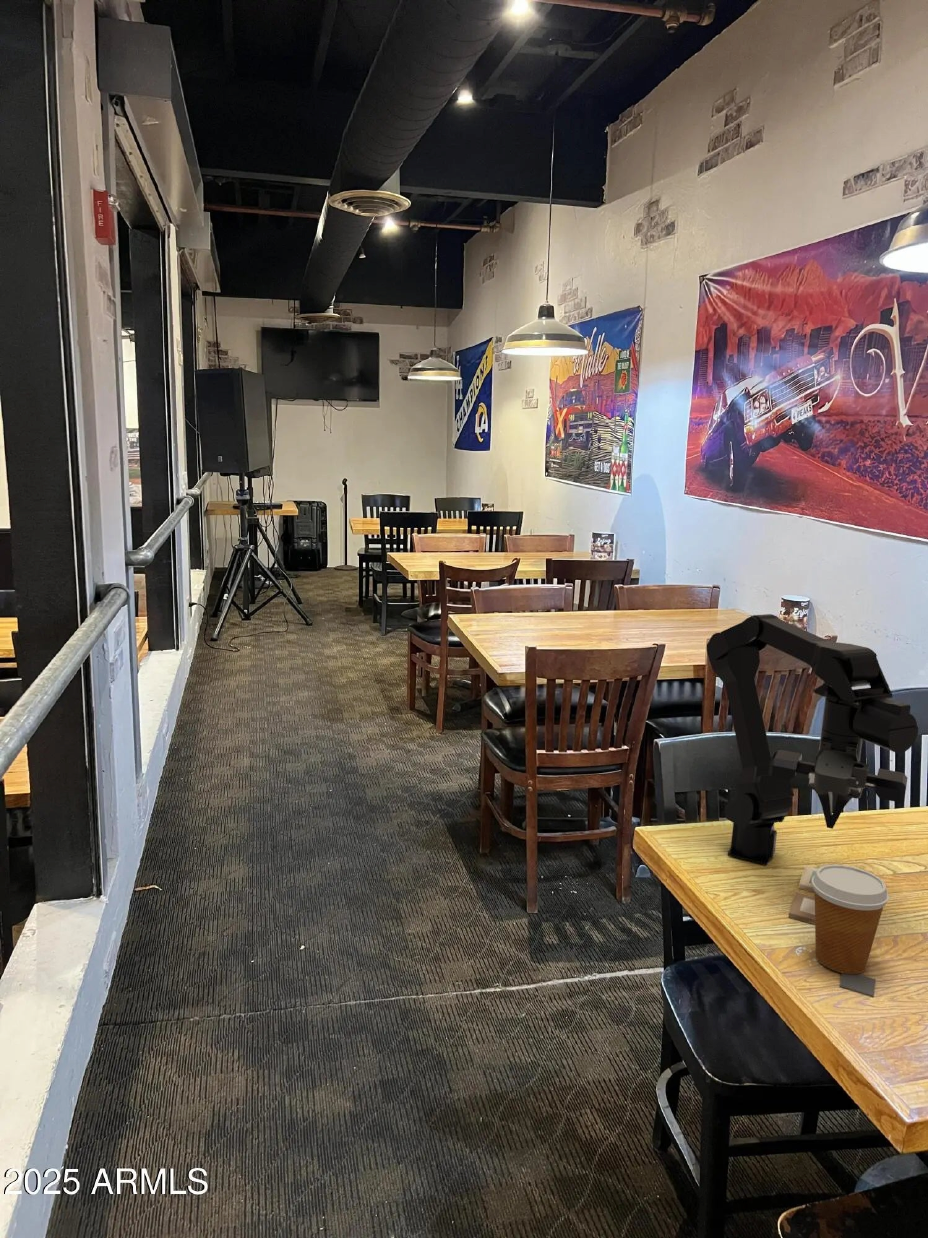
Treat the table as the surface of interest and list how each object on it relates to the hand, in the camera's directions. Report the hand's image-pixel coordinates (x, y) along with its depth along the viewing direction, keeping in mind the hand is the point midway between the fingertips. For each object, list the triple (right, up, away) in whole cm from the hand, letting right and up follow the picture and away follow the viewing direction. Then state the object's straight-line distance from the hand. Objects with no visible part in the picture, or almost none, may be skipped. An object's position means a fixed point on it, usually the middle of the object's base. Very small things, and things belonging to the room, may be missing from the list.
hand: (830, 827), depth 129 cm
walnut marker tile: (-3, -13, -2) cm, 13 cm away
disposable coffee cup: (-5, -15, -14) cm, 21 cm away
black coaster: (-4, -16, -18) cm, 25 cm away
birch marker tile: (+2, -11, +7) cm, 13 cm away
